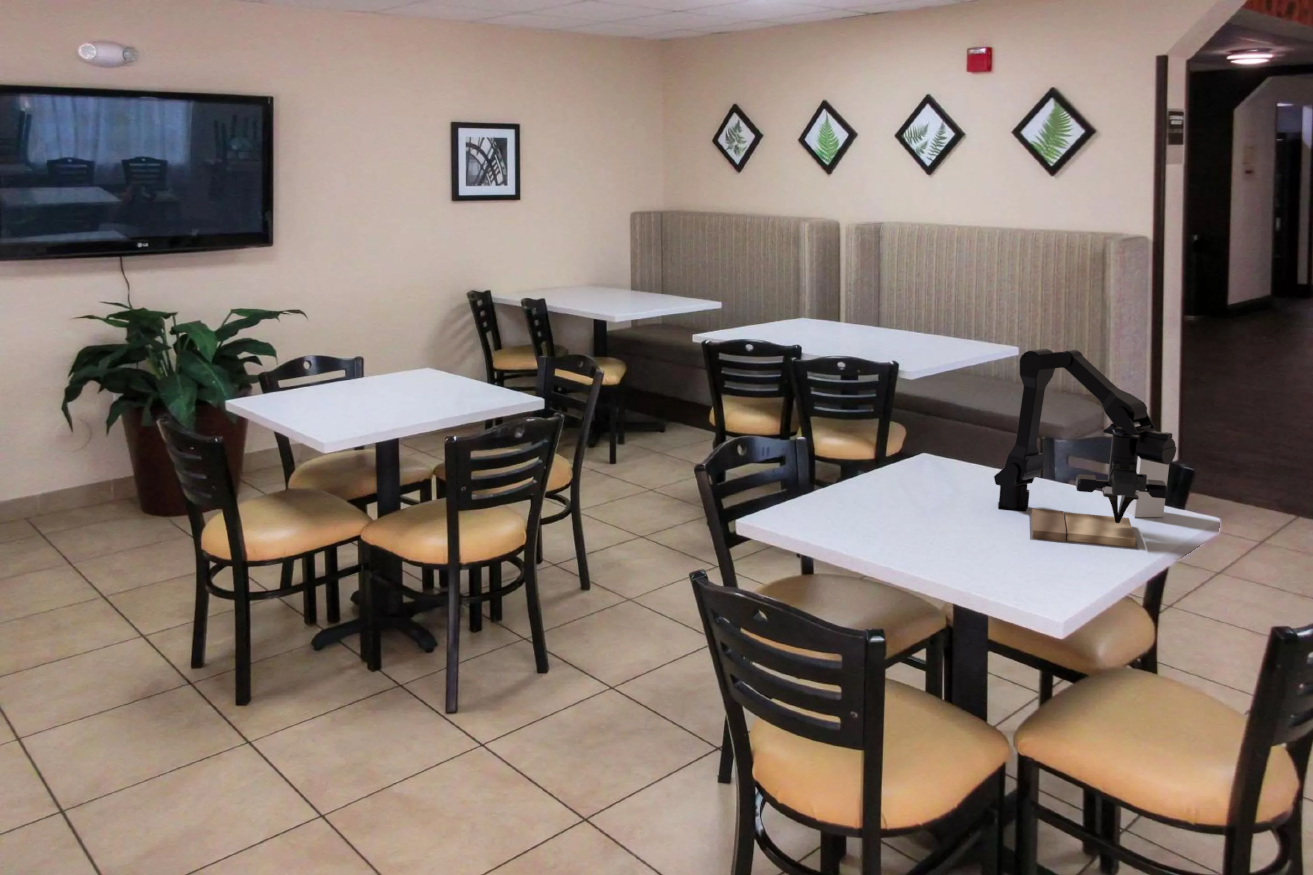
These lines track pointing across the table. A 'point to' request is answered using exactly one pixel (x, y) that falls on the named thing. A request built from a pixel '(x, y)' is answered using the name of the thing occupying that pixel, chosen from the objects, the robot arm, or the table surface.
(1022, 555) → the table surface
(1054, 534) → the walnut plank
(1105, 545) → the underlay mat
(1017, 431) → the robot arm
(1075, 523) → the oak plank
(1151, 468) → the milk carton
